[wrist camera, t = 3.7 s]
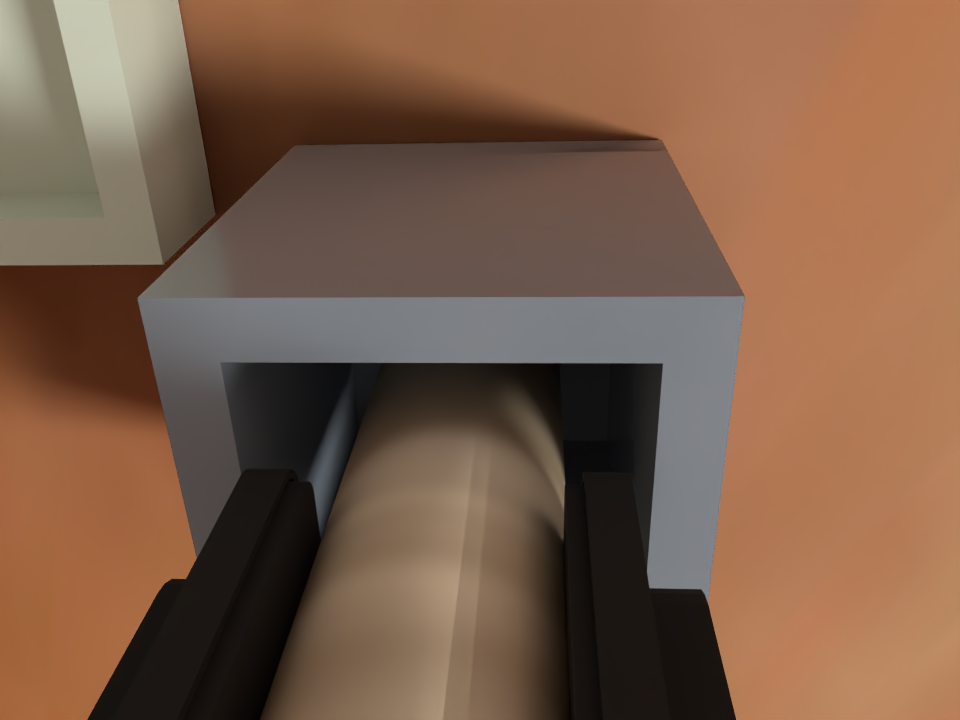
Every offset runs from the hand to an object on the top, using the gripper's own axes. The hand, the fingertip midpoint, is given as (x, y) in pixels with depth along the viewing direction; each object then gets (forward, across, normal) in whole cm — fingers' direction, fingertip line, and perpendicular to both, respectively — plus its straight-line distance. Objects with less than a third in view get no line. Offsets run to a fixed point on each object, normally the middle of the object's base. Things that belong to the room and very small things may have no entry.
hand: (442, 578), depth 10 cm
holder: (+8, 0, 0) cm, 8 cm away
